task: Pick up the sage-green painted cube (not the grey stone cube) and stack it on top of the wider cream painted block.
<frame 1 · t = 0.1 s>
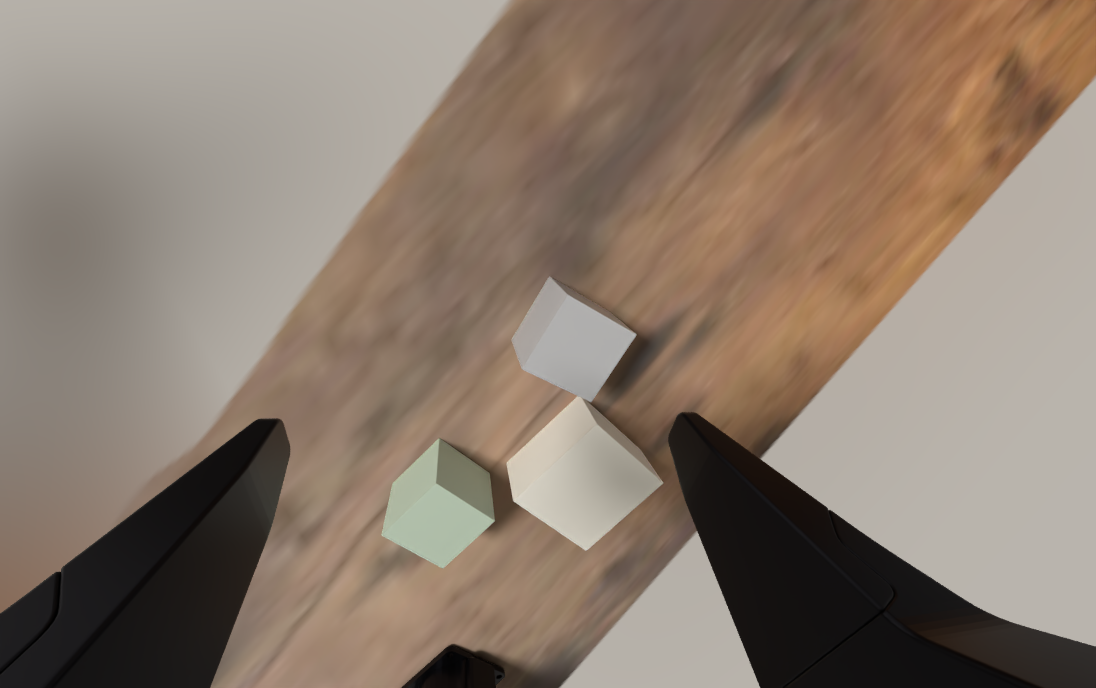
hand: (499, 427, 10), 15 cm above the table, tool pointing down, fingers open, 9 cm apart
sage cube: (442, 477, 28), on the table
cream block: (574, 453, 30), on the table
grey cube: (560, 324, 26), on the table
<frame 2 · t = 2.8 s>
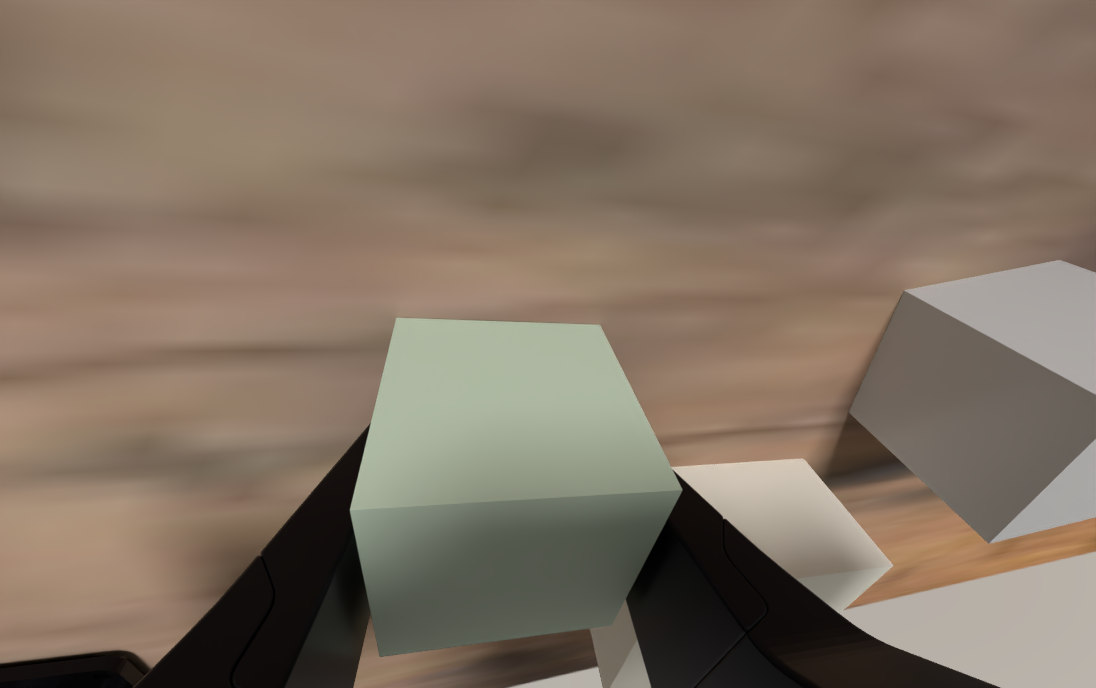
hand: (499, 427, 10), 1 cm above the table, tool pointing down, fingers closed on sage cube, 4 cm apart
sage cube: (496, 397, 10), on the table, touching gripper
cream block: (679, 519, 16), on the table
grey cube: (941, 341, 12), on the table
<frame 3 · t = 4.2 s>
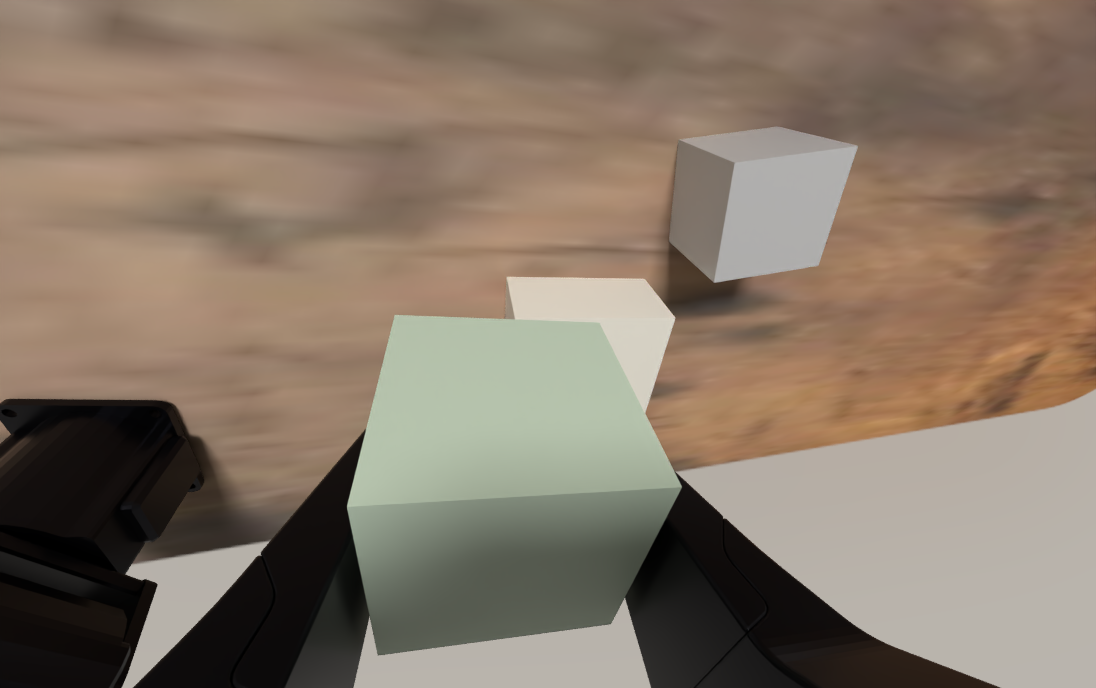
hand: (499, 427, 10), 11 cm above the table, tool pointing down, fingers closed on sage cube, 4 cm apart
sage cube: (495, 395, 10), point 10 cm above the table, touching gripper
cream block: (567, 334, 22), on the table
grey cube: (719, 186, 19), on the table
when the fingers open (7 cm above the table, at t = 5.6 s): sage cube drops 2 cm, resting on cream block.
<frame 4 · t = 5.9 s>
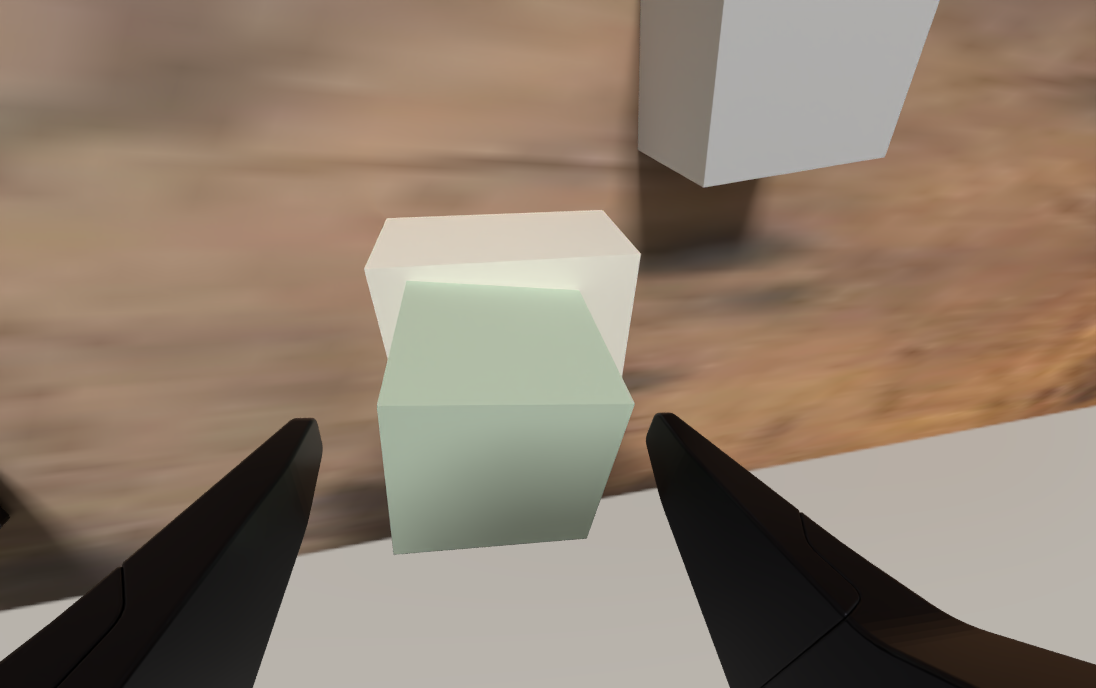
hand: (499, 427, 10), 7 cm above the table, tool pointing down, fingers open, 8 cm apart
sage cube: (490, 354, 12), point 4 cm above the table, touching cream block
cream block: (503, 303, 16), on the table, touching sage cube
grey cube: (713, 53, 12), on the table
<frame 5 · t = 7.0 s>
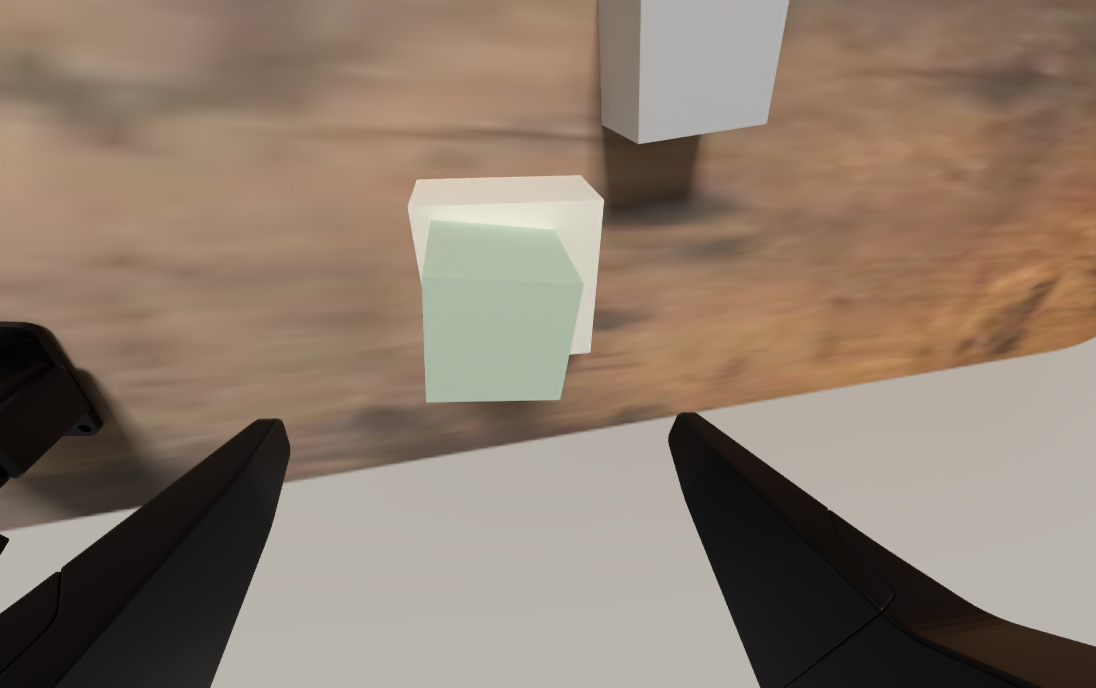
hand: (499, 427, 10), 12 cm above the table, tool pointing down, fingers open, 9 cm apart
sage cube: (490, 280, 16), point 4 cm above the table, touching cream block
cream block: (504, 252, 20), on the table, touching sage cube
grey cube: (655, 51, 16), on the table
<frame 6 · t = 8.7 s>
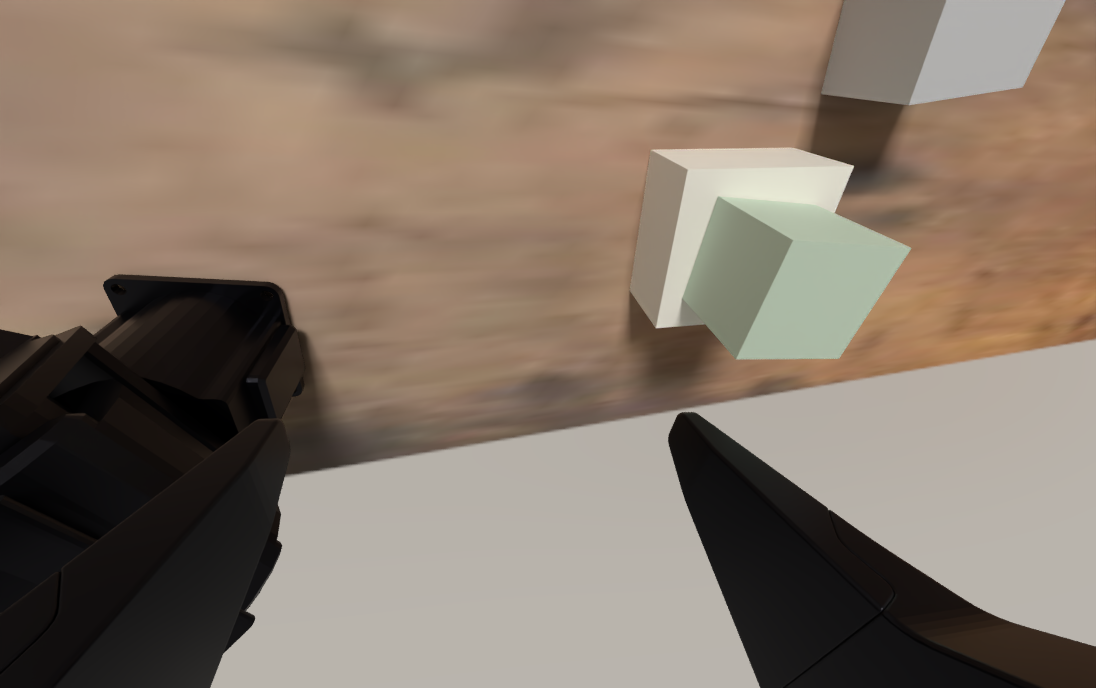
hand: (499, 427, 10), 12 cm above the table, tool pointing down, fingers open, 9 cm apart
sage cube: (746, 253, 18), point 4 cm above the table, touching cream block
cream block: (703, 222, 21), on the table, touching sage cube
grey cube: (886, 22, 17), on the table
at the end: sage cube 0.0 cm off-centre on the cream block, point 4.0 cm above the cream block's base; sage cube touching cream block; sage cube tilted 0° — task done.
